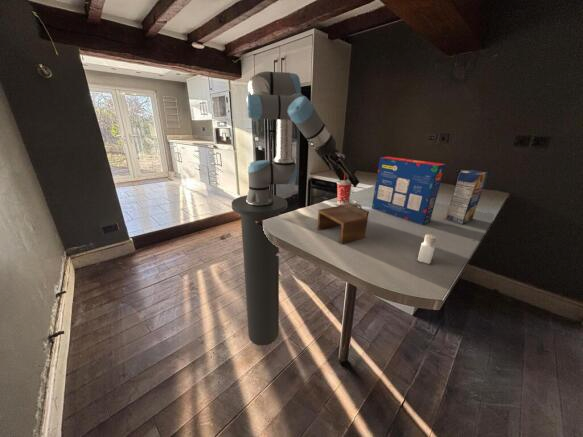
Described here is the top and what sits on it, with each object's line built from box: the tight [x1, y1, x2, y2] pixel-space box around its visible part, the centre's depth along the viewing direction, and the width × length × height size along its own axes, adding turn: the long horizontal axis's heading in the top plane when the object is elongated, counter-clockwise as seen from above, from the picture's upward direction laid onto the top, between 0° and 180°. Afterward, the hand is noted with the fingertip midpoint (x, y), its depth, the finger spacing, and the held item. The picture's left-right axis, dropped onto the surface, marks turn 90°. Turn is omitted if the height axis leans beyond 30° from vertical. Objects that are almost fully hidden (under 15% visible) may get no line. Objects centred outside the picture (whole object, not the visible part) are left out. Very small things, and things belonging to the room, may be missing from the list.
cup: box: [349, 198, 363, 209], centre depth 116 cm, size 11×8×8 cm
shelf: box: [316, 204, 370, 245], centre depth 98 cm, size 16×13×11 cm
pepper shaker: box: [417, 233, 437, 265], centre depth 79 cm, size 4×4×10 cm
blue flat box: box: [371, 156, 446, 226], centre depth 117 cm, size 28×8×28 cm, turn 38°
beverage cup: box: [336, 172, 352, 206], centre depth 92 cm, size 6×6×14 cm
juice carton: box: [445, 169, 489, 225], centre depth 113 cm, size 12×8×24 cm, turn 124°
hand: (350, 182), depth 94 cm, fingers closed on beverage cup, 6 cm apart
